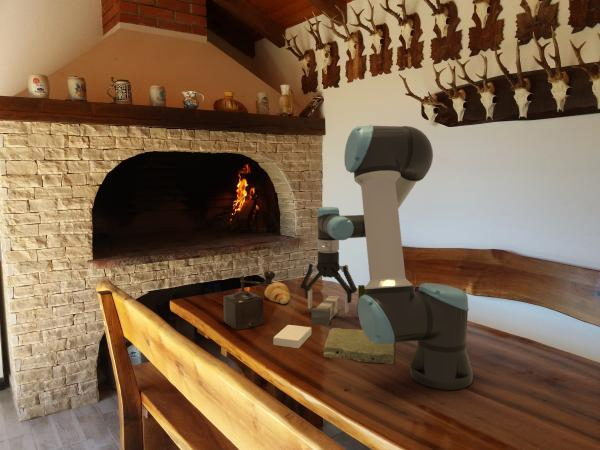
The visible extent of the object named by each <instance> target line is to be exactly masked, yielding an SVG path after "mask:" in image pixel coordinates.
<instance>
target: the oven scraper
mask: <svg viewBox="0 0 600 450" xmlns="http://www.w3.org/2000/svg"><path fill="white" fill-rule="evenodd" d="M339 310H340V296H333V295H328V296H327V297H326V298H325V299H324V300H323V301H322V302H321V303H320V304H318V306H317V307H312V308H311V325H312V324H313V325H321V326H328V327H329V326H330V324H331V320H332V319H333V318H334V316H335V315H336V314H337V313H338V312H339Z"/></svg>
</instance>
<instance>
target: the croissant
mask: <svg viewBox="0 0 600 450" xmlns="http://www.w3.org/2000/svg"><path fill="white" fill-rule="evenodd" d="M290 293H291V292H290V290H289V288H288V286H287V285H286V284H285V283H282V282H280V281H276V282H275V281H274V282H273V283H272V284H269V285H267V286H266V288H265V290H264V296H265V298H267V300H269V301H271V302H274V303H278V304H281V305H286V304H288V302H290V299H291V294H290Z"/></svg>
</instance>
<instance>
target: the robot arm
mask: <svg viewBox="0 0 600 450" xmlns="http://www.w3.org/2000/svg"><path fill="white" fill-rule="evenodd" d="M433 158H434V151H433V146H432V143H431V141H430V140H429V137H428V136H427V135H426V133H424V132H423V131H421V130H420V129H418V128H416V127H413V126H408V125H404V126H397V125H396V126H395V125H373V124H369V125H359V126H356V127H353V129H352V130H351V131H350V133H349V135H348V137H347V139H346V144H345V150H344V161H343V162H344V167H345V170H346V171H347V172H349V173H350V174H352V173H353V176H354V177H353V179H354V182H355V183H356V184H358V185H359V186H360V187H361V188H360V190H361V197H362V198H361V199H362V210H363V214H356V215H355V214H354V215H350V214H348V215H346V214H345V215H340V209H339V208H338V207H336V206H322V207H318V209H317V217H316V219H317V250H318V251H317V264H316V263H314V262H311V263H309V264H308V270H307V272H306V274H305V275H304V278H303V280H302V281H301V284H300V286H299V287H300V289H303V290H304V291H305V297H304V298H305V299H306V300H307V309H312V308H313V289H312V286H314V285H315V283H317V281H318V280H319V279H320V278H321V277H323V278H334V279H335V280H336V281H337V282H338V283H339V285H340V286H341V288H343V290H344V291H345V294H344V313H348V312H349V309H350V307H349V306H350V303H351V302H352V295H353V294H354V293H356V292H357V291H358V288H357V286H356V284H355V281H354V280H353V277H352V275H351V274H350V271H349V266H348V264H345V265H340V252H339V250H340V241H345V240H348V239H359V238H360V239H361V238H365V240H366V241H365V242H366V252H367V253H366V254H367V260H368V261H367V263H368V264H367V265H368V272H369V273H368V274H369V281H368V283H367V284H366V285H365V286H366V287H365V295H363V296H361V297H360V298H359V300H358V299H357V303H358V315H357V317H358V316H359V317H358V319H359V323H360V324H359V325H360V326H361V330H363V331H364V333H365V335H366V336H367V338H368V339H369V340H370V341H371V342H373V343H376V344H386V343H387V344H393V343H404V342H415V341H417V345H416V347H415V350H414V353H413V355H412V358H411V361H410V364H409V375H410V376H411V377H410V378H412V379H413V380H414V381H415V382H417V383H418V384H420V385H422V386H425V387H428V388H431V389H436V390H443V391H454V390H455V391H457V390H461V389H465V388H468V387H469V386H470V385H472V384H473V378H474V376H473V374H474V373H473V372H474V371H473V368H472V365H471V361H470V358H469V354H468V351H467V338H468V317H469V316H468V315H469V314H468V312H469V310H470V308H469V300H468V299H469V298H468V294H467V293H466V292H465V291H463V290H462V289H460V288H457V287H453V286H450V285H447V284H440V283H432V282H431V283H430V282H424V283H421V284H419V287H418V291H414V287H413V286H414V285H413V283H412V282H410V281H409V280H408V279H407V277H406V270H405V269H406V268H405V260H404V252H403V243H402V234H401V233H402V232H401V231H402V230H401V224H400V215H399V213H400V212H399V209H400V207H401V206H402V204H403V203H404V201H405V200H406V198H407V197H408V195H409V194H410V192H411V191H412V189H413V188H414V186H415V185H416V183H418V182H420V181H422V180H423V179H424V178H425V177H426V176H427V174H428V173H429V172H430V169H431V167H432V164H433ZM314 270H317V271H318V273H316V275H315V276H314V277H313V279H311V280H310V278H311V276H312V274H313V271H314ZM339 271H341V273H343V276H344V277H345V279H346V281H347V282H346V281H345V279H344V278H343V277H342V276H341V273H339ZM309 280H310V281H309ZM308 281H309V283H308ZM307 283H308V284H307ZM347 283H348V284H347Z"/></svg>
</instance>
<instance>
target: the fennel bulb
mask: <svg viewBox="0 0 600 450" xmlns="http://www.w3.org/2000/svg"><path fill="white" fill-rule="evenodd" d="M366 286H367V285H364V284H358V285H357V287H358V288H357V291H358V298H357V301H358V300H359V298H360V297H361V296H363V295H365V287H366ZM356 313H357V314H356V315H357V317H358V318H359V316H358V302H357V303H356Z"/></svg>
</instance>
